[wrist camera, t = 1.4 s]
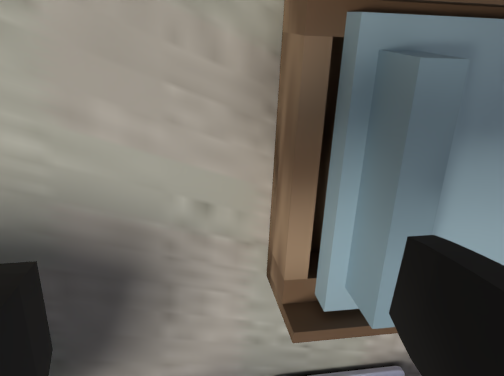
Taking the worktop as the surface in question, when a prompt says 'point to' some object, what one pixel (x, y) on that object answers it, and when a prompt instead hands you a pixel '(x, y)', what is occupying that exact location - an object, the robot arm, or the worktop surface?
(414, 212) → the lid
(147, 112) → the worktop surface
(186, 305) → the worktop surface
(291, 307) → the lid box
